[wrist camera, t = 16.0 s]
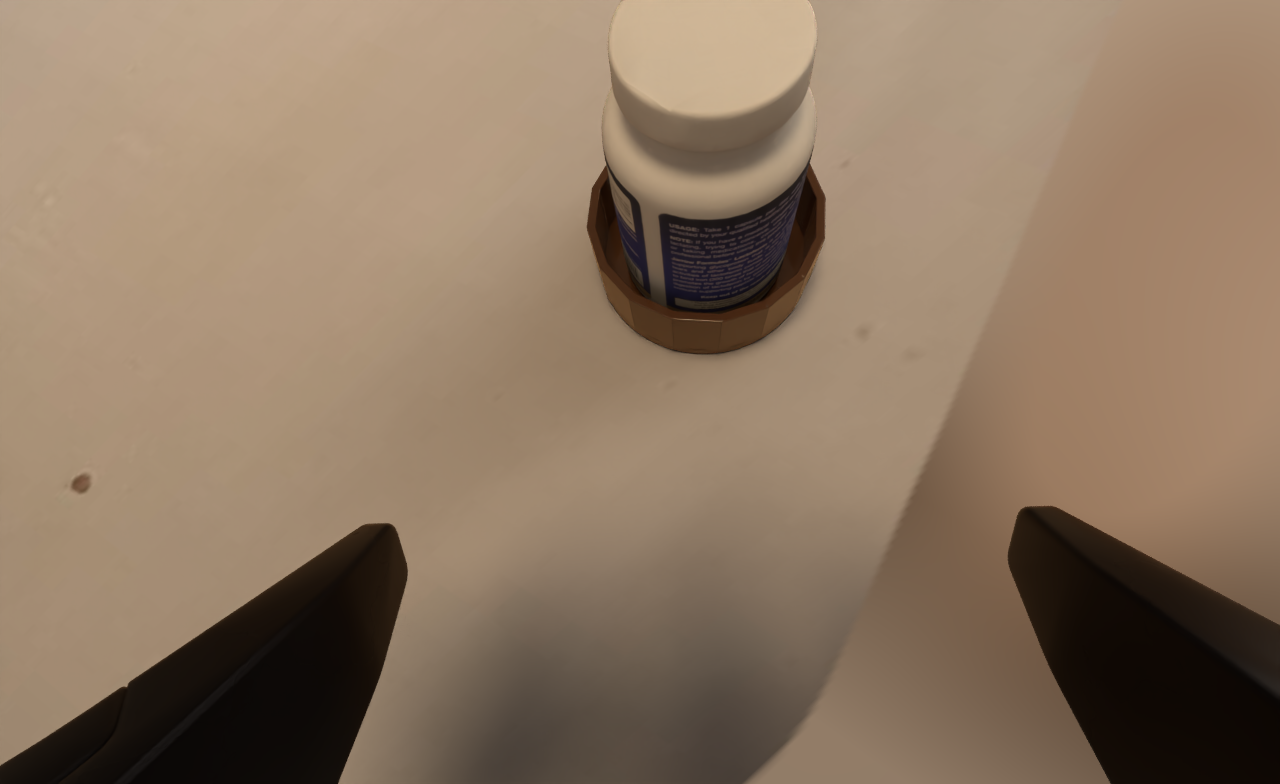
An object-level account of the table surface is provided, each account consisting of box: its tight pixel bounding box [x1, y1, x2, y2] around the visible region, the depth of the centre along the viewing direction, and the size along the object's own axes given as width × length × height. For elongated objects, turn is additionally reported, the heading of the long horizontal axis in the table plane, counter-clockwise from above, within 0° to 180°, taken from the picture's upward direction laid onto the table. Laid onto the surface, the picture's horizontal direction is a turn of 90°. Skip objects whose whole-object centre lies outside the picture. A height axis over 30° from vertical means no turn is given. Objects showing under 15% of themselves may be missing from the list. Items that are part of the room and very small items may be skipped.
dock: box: [587, 163, 826, 354], centre depth 23 cm, size 8×8×3 cm
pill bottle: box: [602, 0, 817, 314], centre depth 19 cm, size 6×6×10 cm
